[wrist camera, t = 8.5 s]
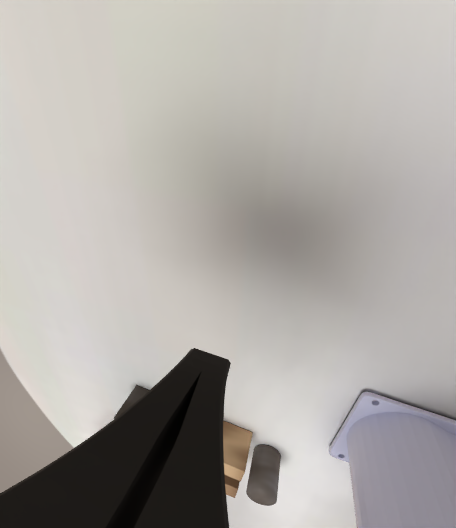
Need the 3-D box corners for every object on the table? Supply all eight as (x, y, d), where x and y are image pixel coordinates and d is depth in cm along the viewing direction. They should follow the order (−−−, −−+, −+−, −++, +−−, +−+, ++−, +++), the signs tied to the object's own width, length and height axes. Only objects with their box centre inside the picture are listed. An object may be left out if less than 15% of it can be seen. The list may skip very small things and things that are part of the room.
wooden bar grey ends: (252, 432, 26) (244, 472, 23) (248, 442, 27) (240, 483, 24) (136, 385, 28) (114, 417, 25) (135, 396, 29) (114, 428, 26)
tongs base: (283, 451, 26) (280, 494, 23) (274, 471, 28) (269, 514, 25) (135, 394, 29) (114, 427, 25) (135, 416, 30) (114, 449, 27)
